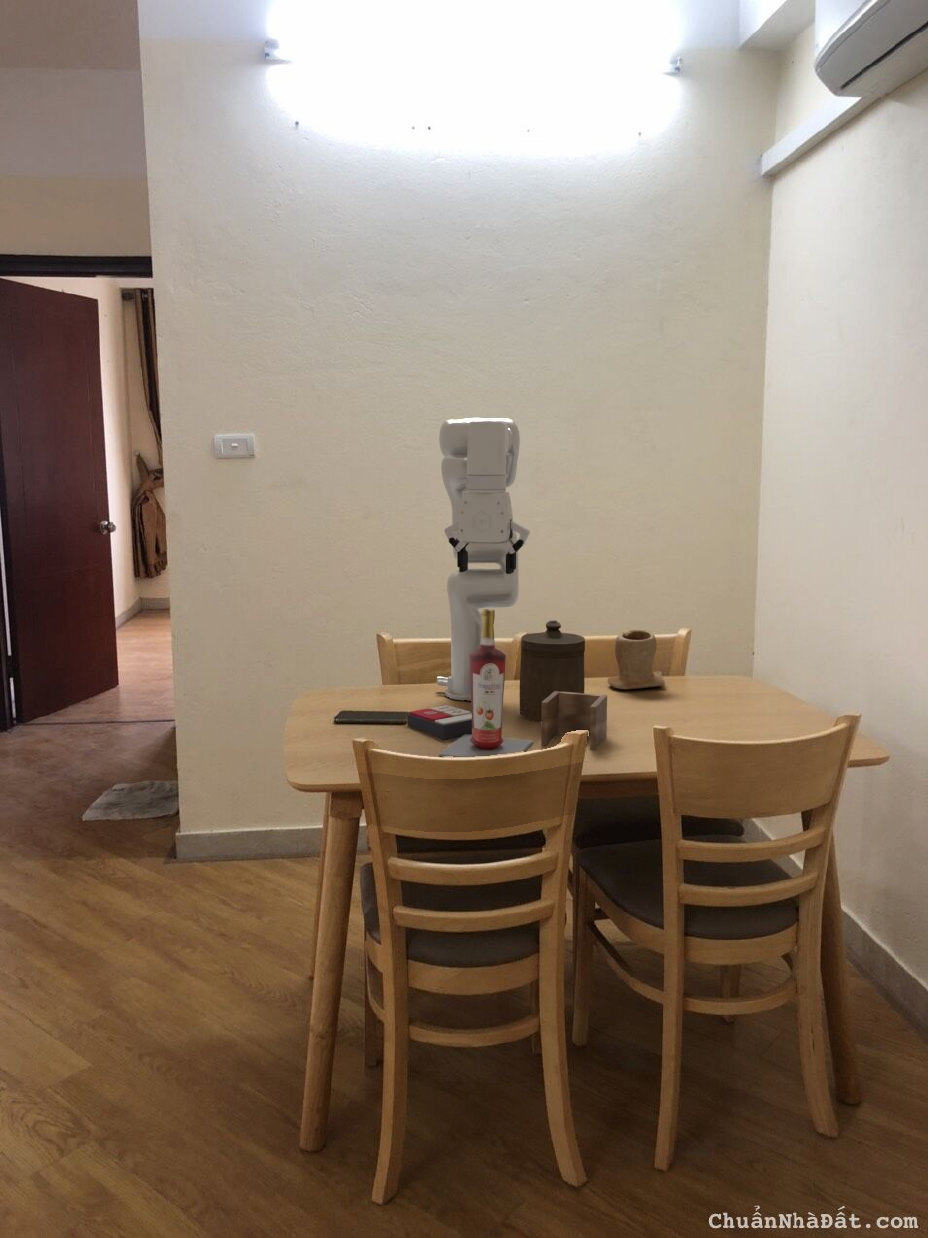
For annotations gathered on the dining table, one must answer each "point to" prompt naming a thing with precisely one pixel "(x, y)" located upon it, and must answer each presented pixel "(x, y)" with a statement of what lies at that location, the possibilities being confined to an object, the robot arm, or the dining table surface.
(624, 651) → the stone cup
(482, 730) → the liquor
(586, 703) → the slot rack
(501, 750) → the slate mat
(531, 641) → the wooden container
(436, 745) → the dining table surface
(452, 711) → the navy red white box
